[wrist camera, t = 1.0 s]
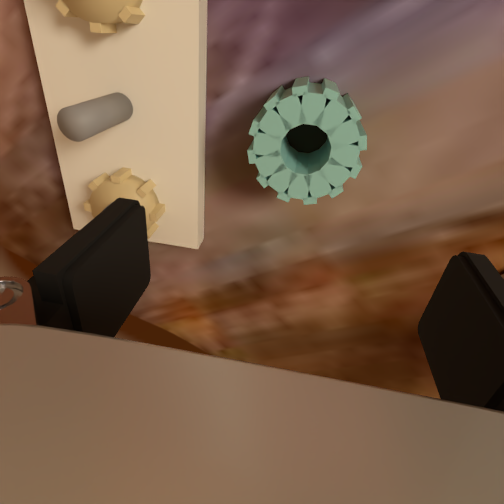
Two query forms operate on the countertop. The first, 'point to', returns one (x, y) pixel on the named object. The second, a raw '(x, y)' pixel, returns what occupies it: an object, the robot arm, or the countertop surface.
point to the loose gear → (299, 163)
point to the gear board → (156, 100)
